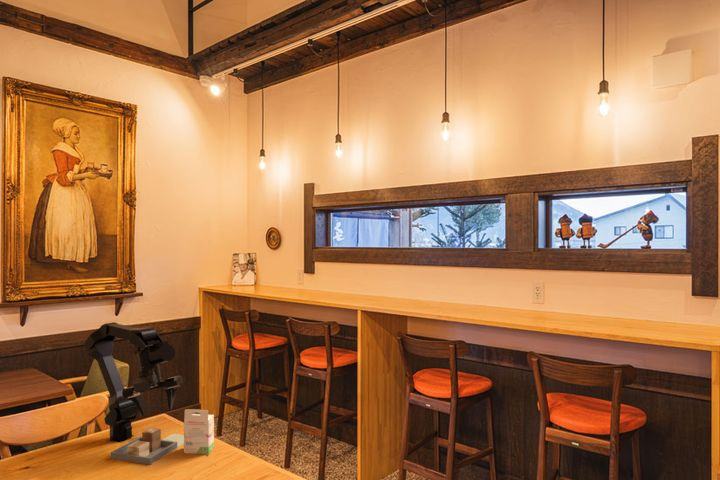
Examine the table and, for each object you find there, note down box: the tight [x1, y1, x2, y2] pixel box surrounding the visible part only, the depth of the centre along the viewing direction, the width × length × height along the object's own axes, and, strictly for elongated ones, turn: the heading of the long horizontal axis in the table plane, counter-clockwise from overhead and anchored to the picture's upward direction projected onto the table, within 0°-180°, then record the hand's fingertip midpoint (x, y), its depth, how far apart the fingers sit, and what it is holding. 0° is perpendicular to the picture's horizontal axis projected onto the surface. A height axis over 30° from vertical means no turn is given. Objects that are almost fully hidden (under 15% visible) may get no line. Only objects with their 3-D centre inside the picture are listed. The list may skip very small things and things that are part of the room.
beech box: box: [127, 441, 149, 457], centre depth 155 cm, size 4×4×4 cm
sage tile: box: [162, 433, 184, 448], centre depth 168 cm, size 9×9×1 cm
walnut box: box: [141, 427, 162, 452], centre depth 161 cm, size 4×4×6 cm
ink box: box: [183, 408, 215, 456], centre depth 160 cm, size 9×5×15 cm, turn 84°
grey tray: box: [110, 436, 178, 466], centre depth 158 cm, size 15×13×2 cm
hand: (157, 412), depth 161 cm, fingers open, 9 cm apart
